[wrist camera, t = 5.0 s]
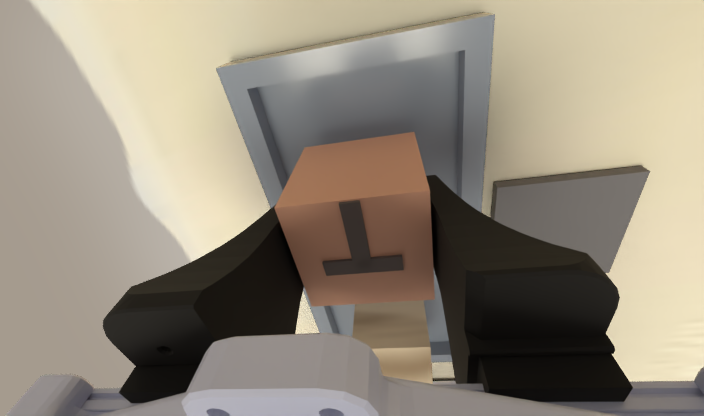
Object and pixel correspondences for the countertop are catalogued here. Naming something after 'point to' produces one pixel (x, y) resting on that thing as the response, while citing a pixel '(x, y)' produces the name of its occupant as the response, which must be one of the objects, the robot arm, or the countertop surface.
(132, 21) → the countertop surface
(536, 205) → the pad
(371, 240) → the letter cube
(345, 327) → the dish
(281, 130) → the dish
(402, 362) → the plain cube
